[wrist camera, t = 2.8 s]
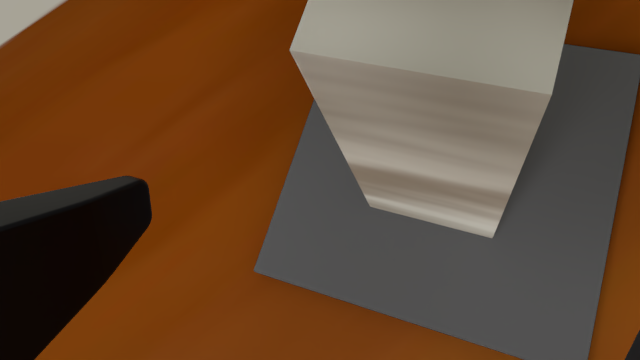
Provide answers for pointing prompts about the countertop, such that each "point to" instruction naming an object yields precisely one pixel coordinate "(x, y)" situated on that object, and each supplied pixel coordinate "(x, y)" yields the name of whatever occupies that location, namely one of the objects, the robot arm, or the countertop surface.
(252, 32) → the countertop surface
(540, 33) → the tall block
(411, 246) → the rubber mat
